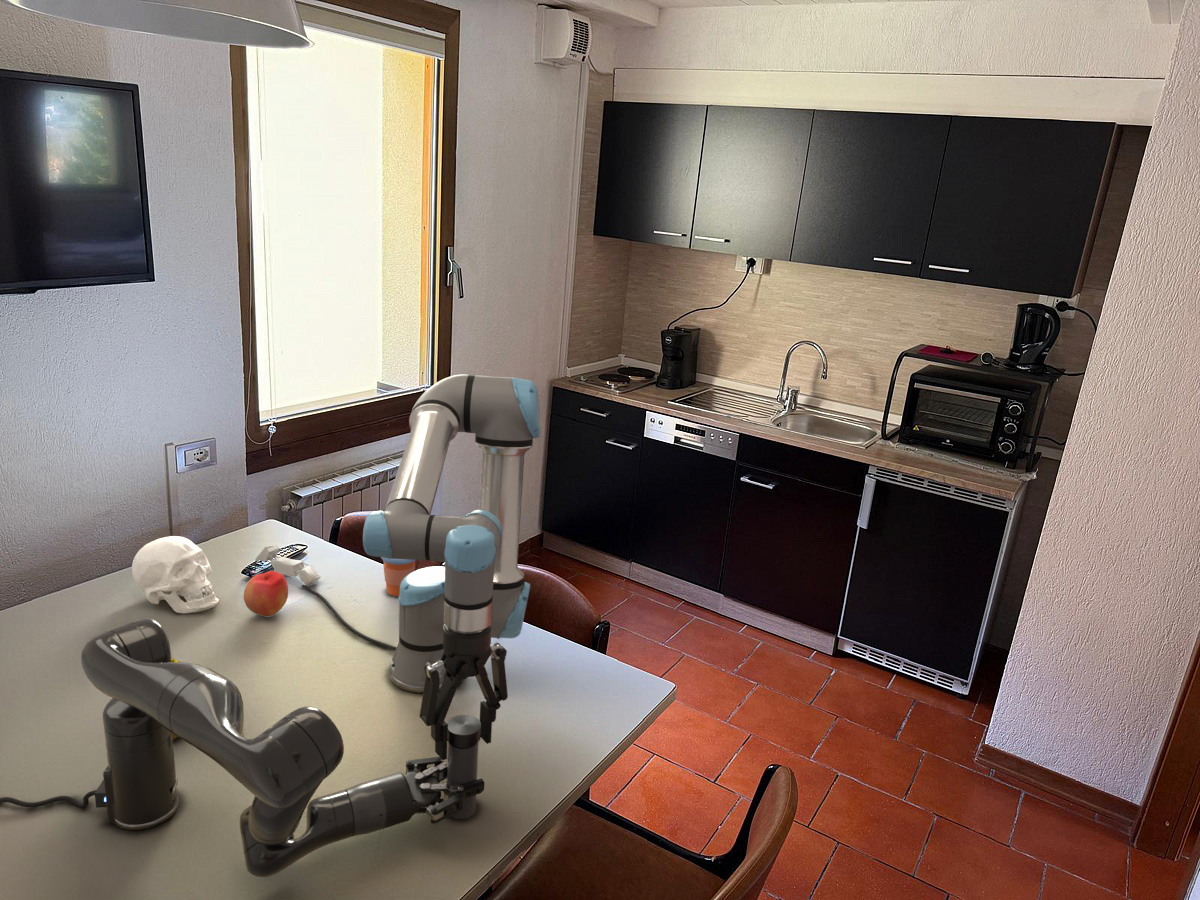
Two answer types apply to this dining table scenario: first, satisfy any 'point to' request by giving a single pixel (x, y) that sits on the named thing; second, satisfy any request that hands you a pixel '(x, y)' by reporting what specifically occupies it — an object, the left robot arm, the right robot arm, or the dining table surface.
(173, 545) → the skull
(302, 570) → the clamp
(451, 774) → the jar
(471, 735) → the lid
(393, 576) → the cup with straw
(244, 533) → the dining table surface
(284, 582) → the apple
